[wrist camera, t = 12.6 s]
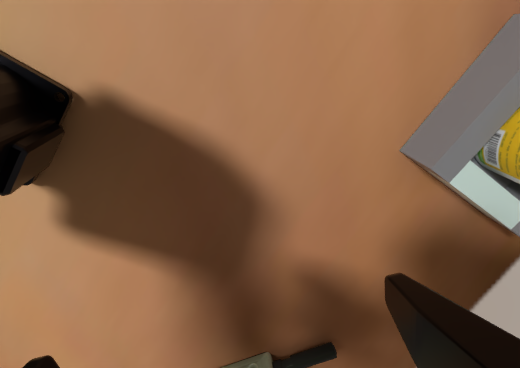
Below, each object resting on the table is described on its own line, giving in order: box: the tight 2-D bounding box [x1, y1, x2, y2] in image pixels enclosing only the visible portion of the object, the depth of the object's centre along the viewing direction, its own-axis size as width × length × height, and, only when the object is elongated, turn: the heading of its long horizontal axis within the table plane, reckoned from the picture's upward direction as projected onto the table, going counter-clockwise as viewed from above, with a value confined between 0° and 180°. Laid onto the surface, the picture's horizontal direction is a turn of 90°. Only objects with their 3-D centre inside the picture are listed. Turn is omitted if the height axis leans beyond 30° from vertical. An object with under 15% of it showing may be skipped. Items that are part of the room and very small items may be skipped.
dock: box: [399, 14, 520, 237], centre depth 20 cm, size 10×10×4 cm
